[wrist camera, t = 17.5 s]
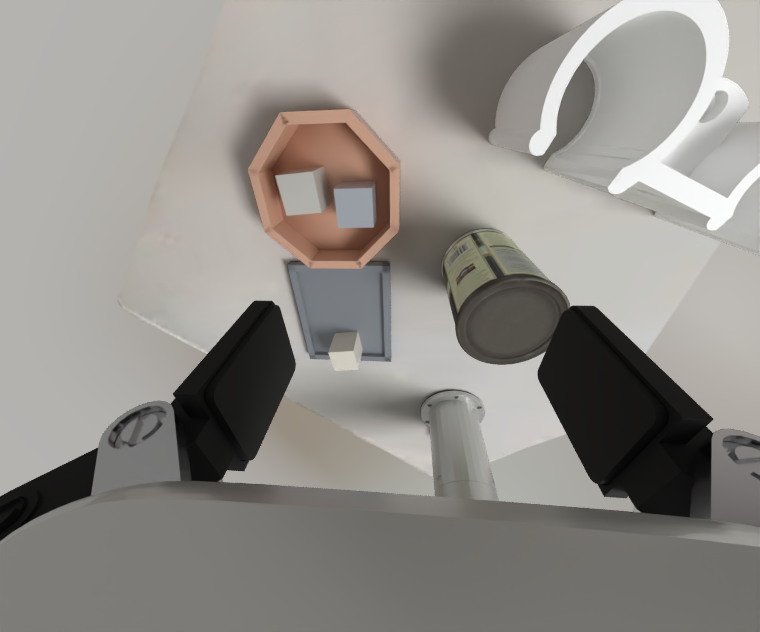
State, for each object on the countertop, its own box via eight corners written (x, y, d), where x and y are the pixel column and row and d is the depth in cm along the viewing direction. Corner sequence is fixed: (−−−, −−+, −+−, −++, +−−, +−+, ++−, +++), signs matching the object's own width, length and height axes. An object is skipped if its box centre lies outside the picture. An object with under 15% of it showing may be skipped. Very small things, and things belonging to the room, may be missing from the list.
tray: (391, 355, 48) (390, 361, 47) (312, 353, 50) (310, 358, 48) (390, 261, 38) (389, 265, 37) (290, 261, 39) (287, 265, 38)
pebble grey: (331, 202, 33) (321, 212, 30) (300, 205, 34) (286, 215, 30) (324, 165, 31) (312, 171, 27) (291, 169, 32) (275, 175, 28)
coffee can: (499, 303, 41) (536, 373, 29) (432, 289, 40) (442, 355, 29) (533, 236, 35) (597, 291, 23) (455, 220, 34) (480, 267, 23)
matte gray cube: (377, 215, 34) (373, 227, 30) (346, 216, 34) (338, 227, 30) (376, 180, 32) (371, 187, 28) (342, 181, 32) (333, 188, 28)
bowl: (399, 254, 37) (398, 268, 34) (287, 254, 39) (274, 268, 35) (400, 109, 28) (400, 106, 25) (254, 115, 30) (232, 114, 26)
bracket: (748, 138, 28) (940, 144, 18) (659, 227, 33) (767, 270, 23) (539, 16, 24) (634, -62, 14) (478, 138, 29) (514, 145, 20)
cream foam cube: (362, 349, 47) (358, 369, 43) (340, 350, 48) (334, 370, 44) (357, 331, 45) (353, 350, 41) (334, 333, 46) (328, 352, 42)
